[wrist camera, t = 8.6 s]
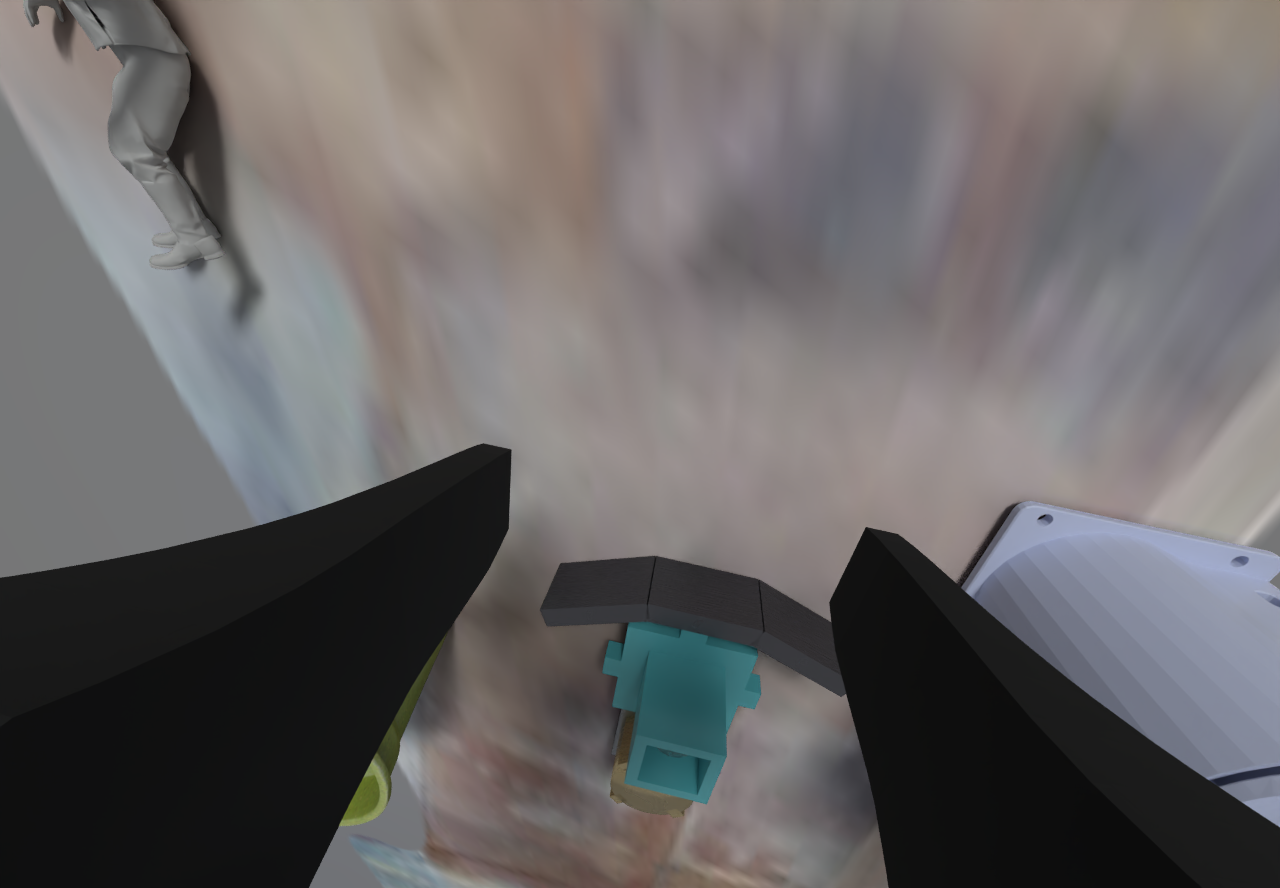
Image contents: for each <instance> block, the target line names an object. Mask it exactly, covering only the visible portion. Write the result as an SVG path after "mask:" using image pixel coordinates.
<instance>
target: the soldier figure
mask: <svg viewBox="0 0 1280 888" xmlns="http://www.w3.org/2000/svg"><path fill="white" fill-rule="evenodd" d="M63 1H64V3H65V4H66V6H67V7H68V9H69V10H70V12H71V13H72V14H73V16H74V17H75V19H76V20H77V21H78V23H79V24H80V26H81V27H82V29H83V30H84V31H85V33H86V34H87V36H88V37H89V39H90V40H91V42H92V43H93V45H94V47H95V49H96V50H97V51H99V49H100V47H102V49H105V48H106V46H108V45H109V47H110V48H111V49H112V51H113V52H114V53H115V55H116V56H117V58H118V59H119V60H120V62H121V63H122V65H123V68H122V69H121V70H120V71H119V73H118V74H117V75H116V77H115V79H114V81H113V86H112V98H113V99H112V108H111V113H110V116H109V119H108V142H109V148H110V150H111V153H112V154H113V156H114V157H115V158H116V159H117V160H118V161H119V162H120V163H121V164H122V165H123V166H124V167H125V168H126V169H127V170H128V171H129V172H130V173H131V174H132V175H133V177H134V178H135V179H137V180H138V181H139V182H140V183H141V185H142V186H143V188H144V189H145V190H146V192H147V193H148V194H149V196H150V197H151V198H152V200H153V201H154V202H155V203H156V205H157V206H158V207H159V209H160V210H161V212H162V213H163V215H164V216H165V218H166V220H167V221H168V223H169V225H170V227H171V229H172V231H171V232H169V233H164V234H161V233H159V234H156V235H154V236H153V238H152V241H153V245H154V246H157V247H163V248H173V249H172V250H171V251H170V252H169V253H165V254H161V255H154V256H152V257H151V258H150V266H151V267H152V268H155V269H164V270H174V269H180V268H183V267H185V266H187V265H189V263H191V262H193V261H195V260H198V259H201V258H204V259H205V260H211V259H216V258H219V257H222V256H223V255H225V254H226V253H225V252H224V250H223V249H222V248H221V245H220V244H219V243H218V242H217V241H216V239H217V238H219V237H221V235H220V233H219V232H218V231H217V229H216V227H215V226H214V225H213V224H212V222H211V221H210V220H209V219H207V218H206V217H205V215H204V214H203V212H202V210H201V208H200V206H199V205H198V203H197V201H196V199H195V197H194V195H193V193H192V191H191V189H190V187H189V185H188V184H187V182H186V181H185V180H184V178H183V177H182V176H181V174H180V173H179V171H178V170H177V168H176V167H175V166H174V164H173V162H171V161H170V157H169V156H168V155H167V152H166V151H168V149H169V148H170V146H171V144H172V142H173V140H174V137H175V134H176V130H177V127H178V124H179V121H180V119H181V117H182V115H183V113H184V111H185V108H186V106H187V103H188V101H189V93H190V79H191V70H190V64H189V60H188V57H187V56H188V55H191V53H190V52H189V50H188V49H187V47H186V46H185V45H184V43H183V42H182V41H181V40H180V38H179V37H178V36H177V35H176V33H175V32H174V31H173V29H172V28H171V25H170V23H169V21H168V19H167V18H166V17H165V16H164V14H163V13H162V11H161V10H160V9H159V8H158V7H157V6H156V5H155V4H154V2H153V0H63ZM23 6H24V12H25V15H26V18H27V19H28V21H29V23H30V25H31V26H32V27H34V26H35V24H36V25H38V24H39V19H38V16H37V11H38V8H39V6H49V7H51V8H53V9H54V10H55V12H56V14H57V16H58V18H59V20H60V21H61V22H64V17H63V12H62V9H61V6H60V4H59V1H58V0H24V4H23Z"/></svg>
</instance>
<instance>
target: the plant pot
mask: <svg viewBox="0 0 1280 888" xmlns="http://www.w3.org/2000/svg"><path fill="white" fill-rule="evenodd" d="M447 633H448V632H447ZM447 633H446V635H447ZM446 635H445V636H444V638H443V639H442V641H441V642H440V643H439V645H438V646H437V648H436V649H435V651H434V652H433V654H432V655H431V657H430V658H429V660H428V661H427V663H426V664H425V666H424V668H423V669H422V671H421V673H420V674H419V676H418V677H417V679H416V681H415V682H414V684H413V686H412V687H411V689H410V691H409V693H408V694H407V696H406V698H405V700H404V702H403V704H402V706H401V707H400V709H399V711H398V713H397V715H396V717H395V718H394V720H393V722H392V724H391V726H390V728H389V730H388V731H387V733H386V735H385V737H384V739H383V741H382V743H381V744H380V746H379V748H378V750H377V752H376V754H375V756H374V758H373V760H372V762H371V764H370V766H369V768H368V770H367V772H366V773H365V775H364V777H363V779H362V781H361V783H360V785H359V787H358V789H357V791H356V793H355V795H354V797H353V799H352V801H351V802H350V804H349V806H348V809H347V811H346V813H345V815H344V817H343V819H342V821H341V823H340V825H339V826H351V825H357V824H362V823H366V822H368V821H371V820H373V819H374V818H377V817H378V816H379V815H380V814H381V813H382V812H383V811H384V809H385V808H386V806H387V804H388V801H389V799H390V796H391V777H390V776H391V773H392V771H393V769H394V766H395V764H396V761H397V759H398V755H399V750H400V740H401V738H402V735H403V733H404V731H405V728H406V726H407V724H408V721H409V719H410V717H411V714H412V712H413V710H414V707H415V705H416V703H417V700H418V698H419V696H420V694H421V691H422V689H423V687H424V684H425V682H426V680H427V678H428V675H429V673H430V671H431V668H432V666H433V664H434V662H435V660H436V657H437V655H438V653H439V651H440V649H441V647H442V644H443V642H444V640H445V637H446Z"/></svg>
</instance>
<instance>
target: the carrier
mask: <svg viewBox="0 0 1280 888" xmlns="http://www.w3.org/2000/svg"><path fill="white" fill-rule="evenodd" d="M540 611H541V613H542V616H543V618H544V621H545V623H546V625H547V626H566V625H587V624H608V623H629V622H651V623H656V624H660V625H664V626H668V627H672V628H677V629H681V630H685V631H689V632H694V633H698V634H702V635H706V636H711V637H715V638H719V639H723V640H727V641H732V642H736V643H740V644H744V645H749V646H753V647H755V648H757V649H758V650H760V651H762V652H764V653H765V654H767V655H769V656H770V657H772V658H774V659H776V660H777V661H779V662H781V663H783V664H784V665H786V666H788V667H790V668H791V669H793V670H795V671H797V672H798V673H800V674H802V675H804V676H805V677H807V678H809V679H811V680H812V681H814V682H816V683H818V684H819V685H821V686H823V687H825V688H826V689H828V690H830V691H832V692H833V693H835V694H837V695H839V696H840V697H842V696H843V695H845V694H846V691H845V687H844V683H843V679H842V675H841V672H840V668H839V664H838V660H837V656H836V652H835V645H834V638H833V631H832V623H831V622H830V621H828V620H826V619H824V618H823V617H821V616H819V615H818V614H816V613H814V612H813V611H811V610H809V609H808V608H806V607H804V606H803V605H801V604H799V603H798V602H796V601H794V600H793V599H791V598H789V597H788V596H786V595H784V594H782V593H781V592H779V591H777V590H776V589H774V588H772V587H771V586H769V585H767V584H766V583H764V582H762V581H761V580H758V579H755V578H750V577H746V576H741V575H737V574H733V573H728V572H724V571H719V570H715V569H711V568H706V567H702V566H698V565H693V564H689V563H684V562H680V561H676V560H671V559H667V558H662V557H658V556H657V557H655V556H649V557H636V558H624V559H611V560H599V561H586V562H573V563H561V564H560V566H559V568H558V570H557V572H556V575H555V577H554V579H553V581H552V584H551V586H550V588H549V591H548V593H547V595H546V597H545V600H544V602H543V604H542V606H541V609H540ZM635 713H636V712H632V711H628V710H624V709H621V712H620V716H619V720H618V725H617V729H616V733H615V738H614V743H613V748H612V753H611V754H612V755H616V756H615V761H614V766H613V772H612V777H611V792H610V797H611V798H612V799H613V800H614V801H615V802H616V803H617V804H618V803H622V802H623V803H625V804H626V805H628V806H630V807H632V808H634V809H637V810H639V811H643V812H646V813H651V814H660V815H666V814H670V815H671V816H672V817H673V818H676V817H681V816H684V810H685V809H687V808H688V807H689V806H690V805H691V804H692V802H693V801H692V800H688V799H684V798H680V797H676V796H672V795H668V794H664V793H660V792H656V791H652V790H648V789H644V788H640V787H636V786H632V785H628V784H624V781H625V775H626V769H627V762H628V756H629V750H630V744H631V738H632V732H633V726H634V720H635ZM658 750H659V751H660V752H662V753H663V754H665V755H668V756H671V757H677V758H679V757H686V756H688V755H686V754H681V753H677V752H673V751H669V750H665V749H661V748H658Z"/></svg>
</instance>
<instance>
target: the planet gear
mask: <svg viewBox="0 0 1280 888" xmlns="http://www.w3.org/2000/svg"><path fill="white" fill-rule="evenodd" d="M757 657H758V653H757V648H755V647H753V646H749V645H744V644H740V643H736V642H732V641H727V640H723V639H719V638H715V637H711V636H706V635H702V634H698V633H694V632H689V631H685V630H681V629H677V628H672V627H668V626H664V625H660V624H656V623H651V622H629V624H628V629H627V634H626V639H625V644H623V643H618V642H614V641H610V640H609V643H608V647H607V651H606V655H605V660H604V666H603V672H602V673H604V674H608V675H612V676H616V677H618V679H617V684H616V689H615V694H614V699H613V704H612V707H616V708H620V709H624V710H628V711H632V712H636V713H635V720H634V726H633V732H632V738H631V744H630V750H629V756H628V762H627V769H626V775H625V781H624V784H628V785H632V786H636V787H640V788H644V789H648V790H652V791H656V792H660V793H664V794H668V795H672V796H676V797H680V798H684V799H688V800H692V801H696V802H700V803H704V804H707V802H708V800H709V797H710V795H711V793H712V790H713V788H714V786H715V783H716V781H717V778H718V776H719V774H720V771H721V769H722V767H723V764H724V762H725V759H726V757H727V748H726V734H727V732H728V729H729V727H730V724H731V722H732V719H733V717H734V714H735V712H736V709H737V707H738V706H743V707H747V708H751V709H755V707H756V705H757V702H758V700H759V698H760V695H761V687H760V676H759V675H756V674H752V673H751V672H752V670H753V667H754V665H755V662H756V660H757ZM658 748H661V749H665V750H669V751H673V752H677V753H681V754H686V755H688V756H686V757H679V758H677V757H671V756H668V755H665V754H663V753H662V752H660V751H659V750H658Z"/></svg>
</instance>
